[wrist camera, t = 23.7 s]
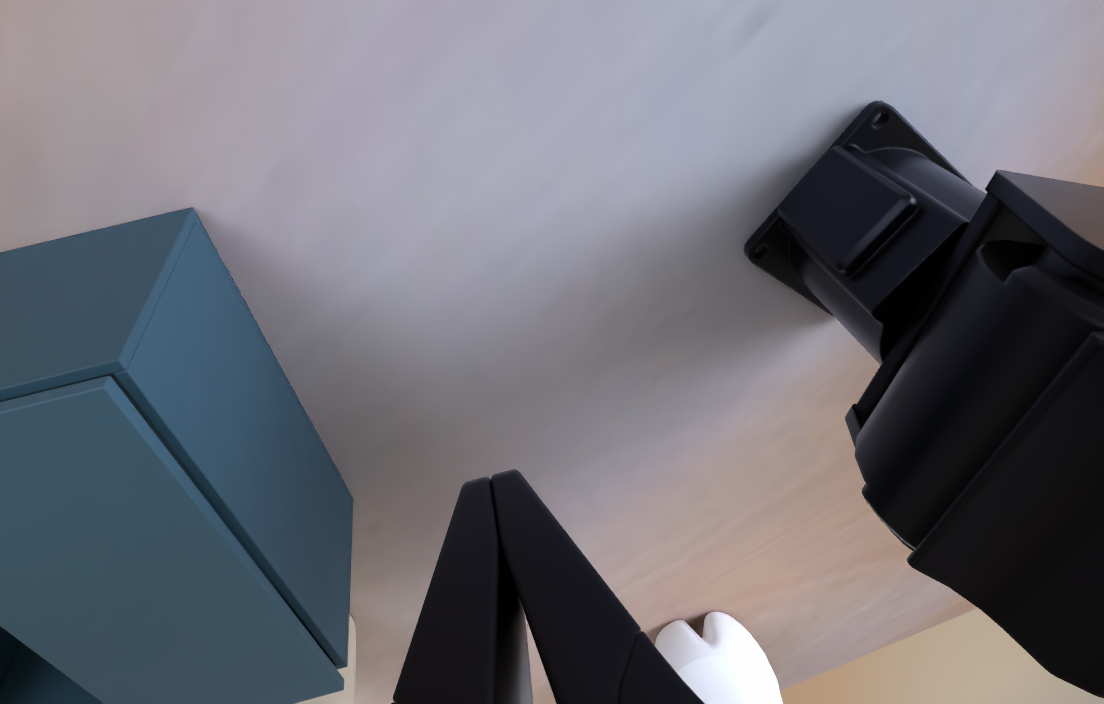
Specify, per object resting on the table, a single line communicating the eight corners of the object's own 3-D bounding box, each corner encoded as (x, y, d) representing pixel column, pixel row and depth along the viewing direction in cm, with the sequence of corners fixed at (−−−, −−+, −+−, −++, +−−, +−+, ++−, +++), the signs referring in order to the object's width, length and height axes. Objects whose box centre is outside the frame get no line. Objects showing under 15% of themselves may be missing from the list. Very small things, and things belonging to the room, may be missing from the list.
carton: (192, 206, 20) (118, 359, 14) (353, 498, 28) (348, 666, 22) (-259, 313, 19) (-532, 521, 13) (48, 580, 27) (-38, 775, 22)
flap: (110, 374, 14) (104, 386, 13) (344, 678, 22) (344, 690, 22) (-202, 450, 13) (-217, 465, 13) (157, 729, 22) (154, 742, 21)
